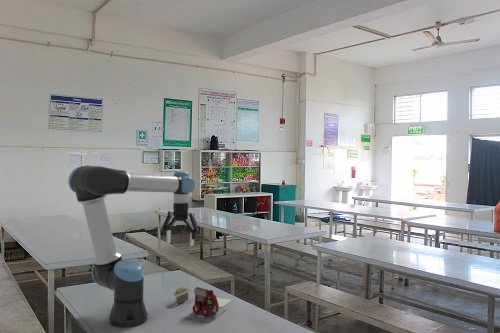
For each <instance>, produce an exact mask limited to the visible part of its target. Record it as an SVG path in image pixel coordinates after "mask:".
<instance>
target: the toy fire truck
mask: <svg viewBox="0 0 500 333" xmlns="http://www.w3.org/2000/svg"><path fill="white" fill-rule="evenodd" d="M193 292H194V304H193V306H192V312H194V313H195V314H199V313H200V312H201V310H202V314H203V316H205V317H207V316H209V315H210V314H211V312H212V313H217V312H218V308H219V307H218V306H219V304H218V301H217V298H218V297H217V295H216V294H215V293H214V290H213V289H210V290H209V289H208V288H204V287H203V288H202V287H199V286H196V287H195V288H194V291H193Z"/></svg>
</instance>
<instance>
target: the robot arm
mask: <svg viewBox="0 0 500 333" xmlns="http://www.w3.org/2000/svg"><path fill="white" fill-rule="evenodd" d="M67 180H68V182H67V184H68V186H69V188H70V189H71V191H72V192H73V193H75V196H76V200H77V203H79V204H82V207H83V211H84V215H85V218H86V219H85V220H86V224H87V227H88V232H89V235H90V239H91V244H92V247H93V251H94V255H95V257H94V259H93V260H92V262H93V267H91V278H92V279H93V281H94V282H95V283H96V284H98V286H100V287H103V288H106V289H109V290H111V291H113V304H112V307H111V310H110V314H109V316H108V323H109V324H110V325H111V326H113V327H118V328H130V327H136V326H139V325H142V324H143V323H145V322H147V320H148V311H147V309H146V305H145V301H144V283H145V282H144V278H145V277H144V275H145V272H144V265H143V264H142V263H141V262H139V261H136V260H129V259H127V260H125V259H124V260H123V257H122V254H121V252H119V251H118V250H117V247H116V244H115V239H114V236H113V230H112V228H111V222H110V219H109V214H108V211H107V206H106V202H105V198H106V197H107V196H108V195H115V194H116V195H124V194H126V193H127V192H131V193H132V192H133V193H134V192H135V193H136V192H138V193H173V207H172V208H173V209H172V210H168V211H167V215H166V218H165V220H164V222H163V224H162V225H161V229H162V230H164V232H165V235H164V237H165V238H166V240H165V241H166V243H165V244H166V245H168V244H171V240H172V239H171V238H172V237H171V236H172V231H171V230H172V229H171V228H172V226H173V225H174V224H175V223H176V222H184V223H185V225H186V226H187V228H188V229H189V230H190V233H189V247H192V246H195V239H196V234H197V233H198V232H200V229H199V226H198V223H197V221H196V218H195V213H194V212H189V201H190V200H189V198H190V196H189V194H191V193H193V191H194V190H195V187H196V182H195V180H194V178H192V177H190V173H189V171H174V173H173V175H163V174H150V173H135V172H134V173H133V172H131V173H130V172H127V171H126V169H125V170H122V169H115V168H111V167H106V166H99V165H98V166H95V165H82V166H78V167H76V168H74V169H73V170H72V171H71V173H70V174H69V175H68V179H67ZM172 216H173V217H172Z"/></svg>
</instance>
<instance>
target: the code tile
mask: <svg viewBox="0 0 500 333" xmlns="http://www.w3.org/2000/svg"><path fill="white" fill-rule="evenodd" d="M226 311H227V309H225V308H220V307H218V312H217V313H212V312H211V314H210V315H209V316H207V317H205V316H203V314H202V310H201V312H200V313H199V314H195V313H194V312H193V311H192V312H190V313H188V314H186V316H184V317H183V319H187V320H192V321H197V322H202V323H207V324H209V323H211V322H212V321H213V320H214V319H215V320H216V318H218V317H219V316H220V315H222V314H223V313H224V312H226Z"/></svg>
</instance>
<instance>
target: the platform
mask: <svg viewBox="0 0 500 333" xmlns="http://www.w3.org/2000/svg"><path fill="white" fill-rule="evenodd" d="M191 291H192V289H187V287H184V286H183V287H179V288H177V289H176V290H175V292H173V293H172V294H173V296H175V297H176V299H175V300H176V305H179V304H181V303H184V302H186V301H188V300H189V293H190V292H191Z"/></svg>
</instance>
